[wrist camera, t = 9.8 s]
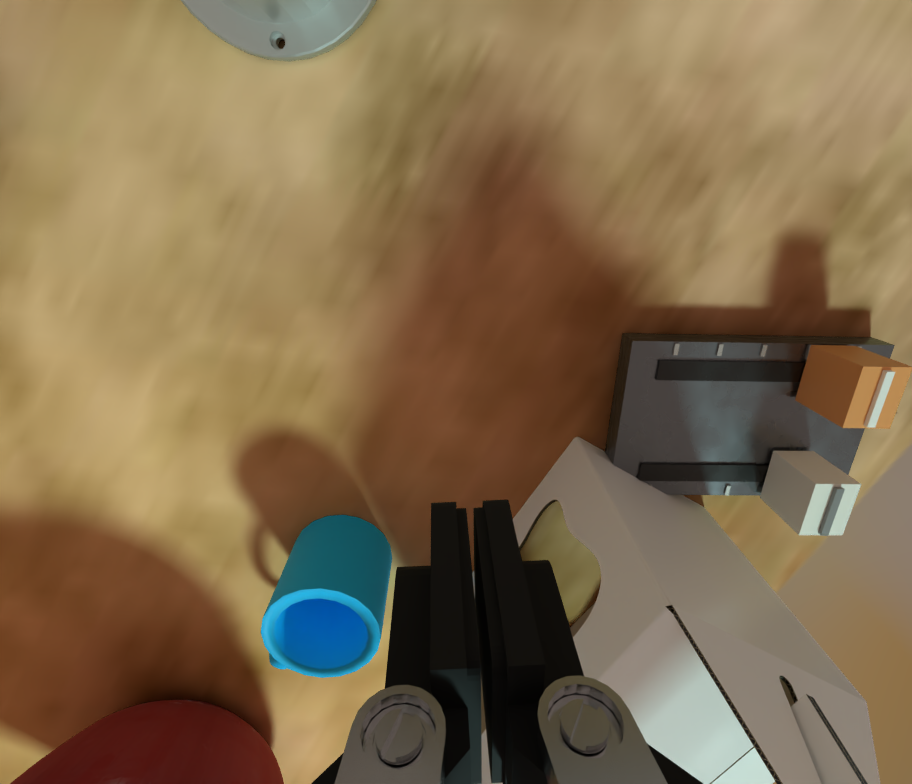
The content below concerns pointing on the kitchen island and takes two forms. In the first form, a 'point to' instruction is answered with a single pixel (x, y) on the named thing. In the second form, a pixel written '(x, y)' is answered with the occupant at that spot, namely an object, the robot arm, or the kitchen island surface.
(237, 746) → the mixing bowl
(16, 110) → the kitchen island surface
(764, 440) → the console
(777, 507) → the fader ivory
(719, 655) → the gable box
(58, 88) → the kitchen island surface
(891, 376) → the fader orange
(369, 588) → the mug
